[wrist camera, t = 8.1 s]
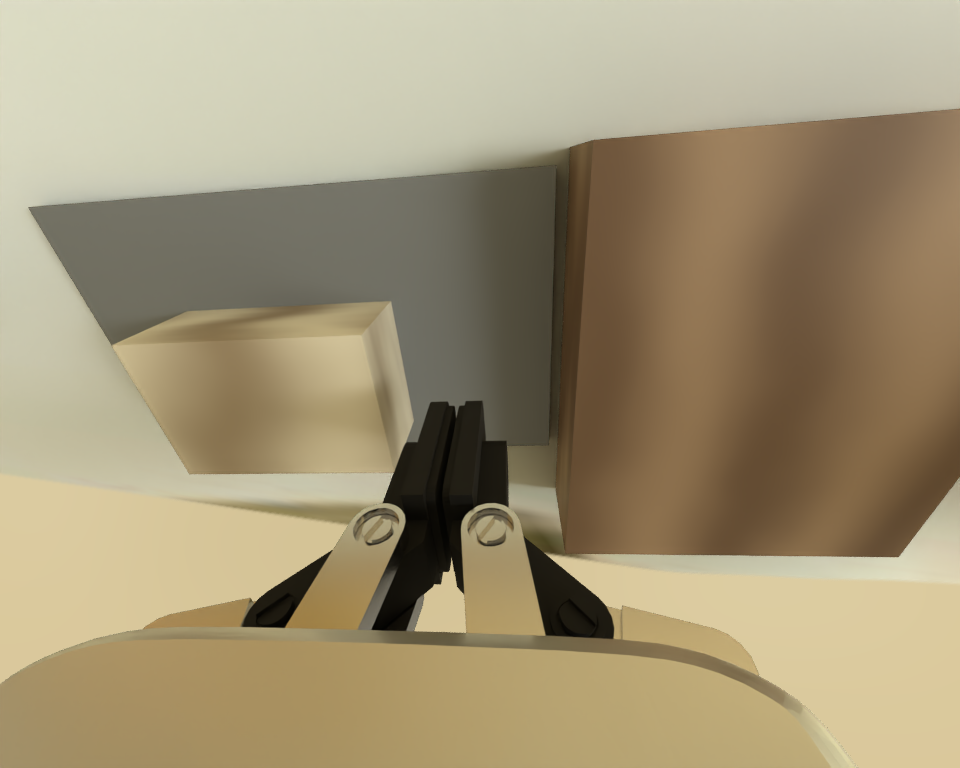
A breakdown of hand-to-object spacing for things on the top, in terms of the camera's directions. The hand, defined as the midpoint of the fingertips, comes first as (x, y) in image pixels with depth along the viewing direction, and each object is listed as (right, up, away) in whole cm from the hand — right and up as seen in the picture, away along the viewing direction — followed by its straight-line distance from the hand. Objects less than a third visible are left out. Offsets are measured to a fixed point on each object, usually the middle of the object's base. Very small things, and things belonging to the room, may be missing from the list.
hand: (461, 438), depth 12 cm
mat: (-6, +4, +5) cm, 9 cm away
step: (+11, +3, +4) cm, 12 cm away
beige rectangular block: (-8, +1, +2) cm, 8 cm away
